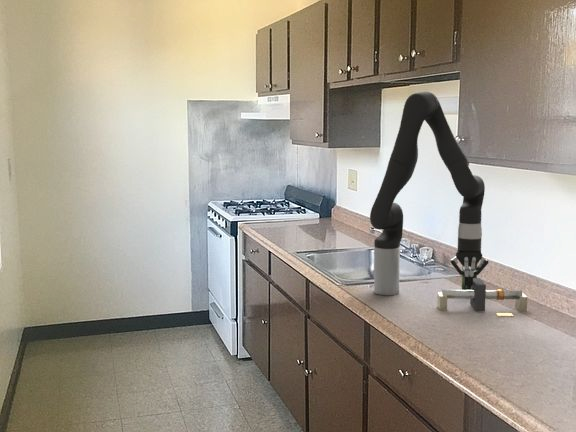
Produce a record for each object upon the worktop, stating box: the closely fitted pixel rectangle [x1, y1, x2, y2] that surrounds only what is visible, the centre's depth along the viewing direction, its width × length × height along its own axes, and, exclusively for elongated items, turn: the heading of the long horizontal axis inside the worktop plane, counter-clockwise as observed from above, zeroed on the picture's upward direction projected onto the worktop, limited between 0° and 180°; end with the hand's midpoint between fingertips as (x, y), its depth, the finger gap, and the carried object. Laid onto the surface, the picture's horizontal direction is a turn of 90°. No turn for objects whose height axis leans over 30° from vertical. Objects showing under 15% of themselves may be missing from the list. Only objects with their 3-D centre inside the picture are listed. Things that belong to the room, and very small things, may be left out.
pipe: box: [436, 288, 528, 318], centre depth 214 cm, size 28×11×7 cm, turn 86°
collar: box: [469, 277, 487, 312], centre depth 217 cm, size 3×9×9 cm, turn 176°
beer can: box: [461, 264, 478, 290], centre depth 236 cm, size 5×5×12 cm
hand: (468, 287), depth 216 cm, fingers closed
